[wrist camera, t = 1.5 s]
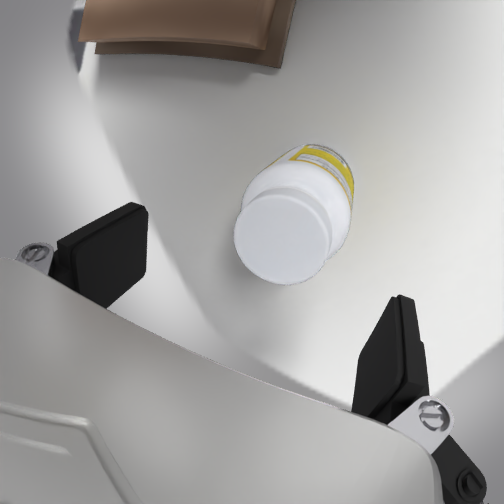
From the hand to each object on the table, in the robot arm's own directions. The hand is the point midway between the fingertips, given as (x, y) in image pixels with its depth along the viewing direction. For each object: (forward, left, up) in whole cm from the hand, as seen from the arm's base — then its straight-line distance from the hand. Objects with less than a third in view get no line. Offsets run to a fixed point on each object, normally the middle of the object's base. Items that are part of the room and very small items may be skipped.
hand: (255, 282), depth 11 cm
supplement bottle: (-1, 0, -12) cm, 12 cm away
